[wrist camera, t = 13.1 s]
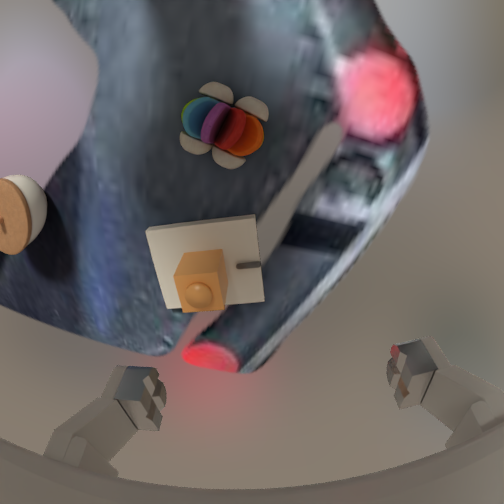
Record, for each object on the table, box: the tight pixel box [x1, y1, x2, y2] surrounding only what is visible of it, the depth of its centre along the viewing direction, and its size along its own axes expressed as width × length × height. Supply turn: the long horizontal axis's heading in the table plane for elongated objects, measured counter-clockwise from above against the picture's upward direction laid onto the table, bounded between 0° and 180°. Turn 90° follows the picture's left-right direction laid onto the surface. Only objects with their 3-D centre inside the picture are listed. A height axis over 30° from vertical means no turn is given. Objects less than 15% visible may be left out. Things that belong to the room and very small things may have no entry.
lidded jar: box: [0, 175, 47, 255], centre depth 32 cm, size 11×11×9 cm
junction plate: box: [145, 214, 265, 309], centre depth 38 cm, size 12×14×6 cm
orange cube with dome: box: [173, 249, 228, 313], centre depth 36 cm, size 5×5×7 cm
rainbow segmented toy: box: [180, 82, 269, 169], centre depth 30 cm, size 8×10×7 cm
